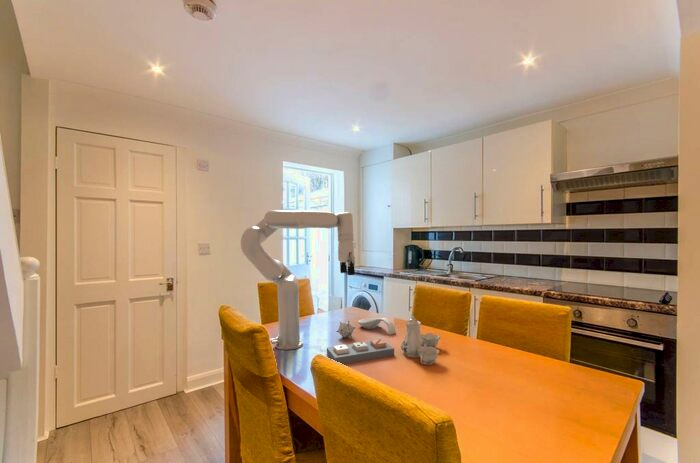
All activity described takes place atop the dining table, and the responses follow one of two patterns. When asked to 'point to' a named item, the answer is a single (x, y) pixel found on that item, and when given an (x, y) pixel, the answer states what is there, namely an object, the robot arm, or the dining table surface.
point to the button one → (341, 349)
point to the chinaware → (420, 343)
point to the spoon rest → (374, 322)
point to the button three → (378, 343)
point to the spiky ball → (345, 329)
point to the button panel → (360, 353)
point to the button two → (360, 346)
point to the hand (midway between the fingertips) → (347, 273)
